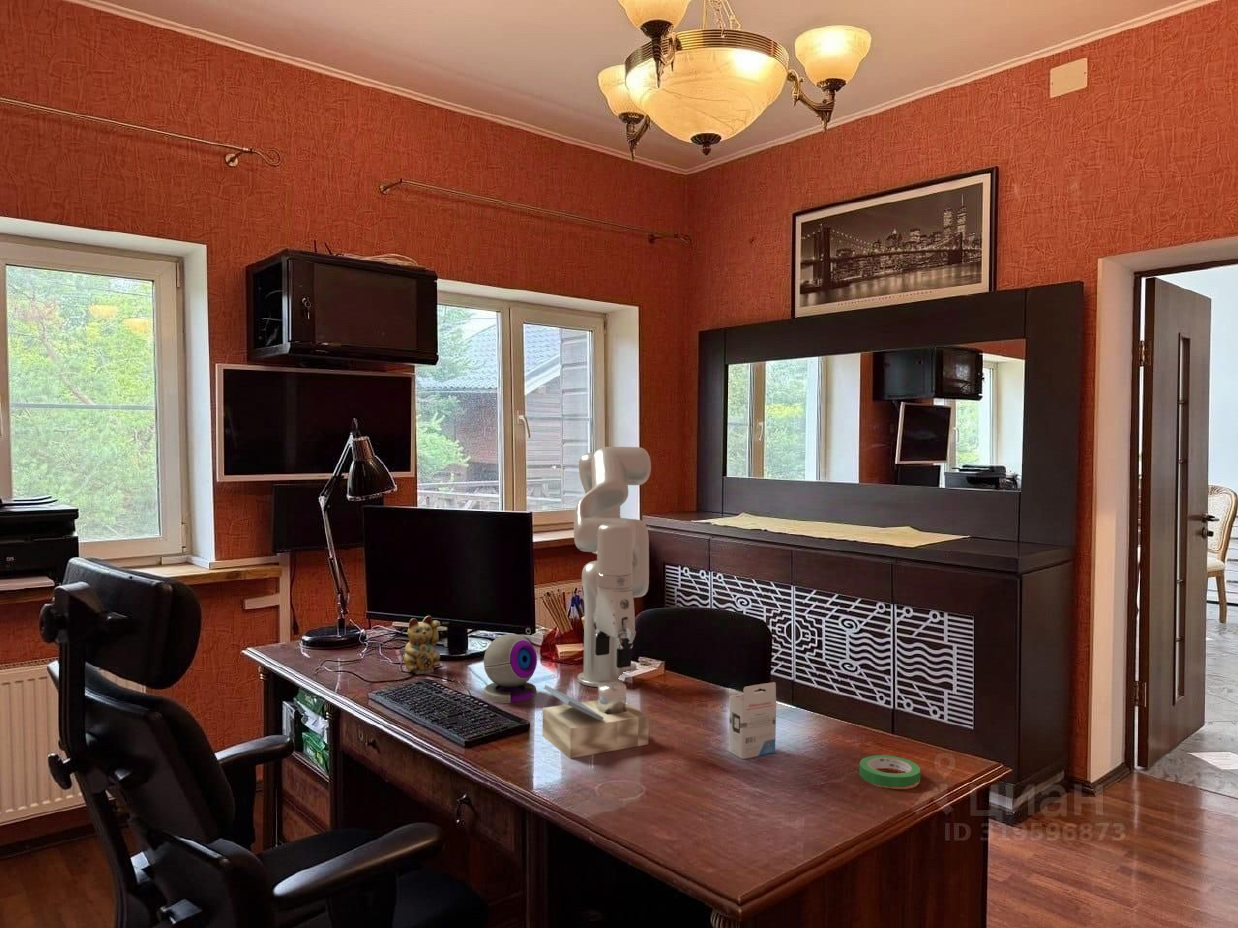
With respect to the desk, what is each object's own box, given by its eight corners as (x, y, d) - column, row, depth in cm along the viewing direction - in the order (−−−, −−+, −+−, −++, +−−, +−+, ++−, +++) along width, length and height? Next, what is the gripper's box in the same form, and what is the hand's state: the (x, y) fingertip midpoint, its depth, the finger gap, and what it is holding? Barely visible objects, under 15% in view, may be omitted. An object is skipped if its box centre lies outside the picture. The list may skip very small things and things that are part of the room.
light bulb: (617, 728, 186) (617, 680, 186) (630, 736, 181) (631, 687, 181) (592, 732, 184) (593, 683, 183) (605, 741, 178) (606, 691, 178)
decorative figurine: (410, 676, 224) (411, 620, 224) (397, 669, 230) (397, 614, 230) (444, 671, 230) (444, 615, 230) (430, 664, 237) (430, 610, 236)
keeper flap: (576, 704, 185) (578, 700, 185) (601, 721, 174) (603, 717, 174) (543, 688, 181) (545, 684, 181) (567, 704, 170) (569, 700, 170)
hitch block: (616, 723, 191) (617, 697, 191) (648, 744, 178) (648, 715, 178) (542, 735, 182) (542, 707, 182) (570, 758, 170) (570, 728, 170)
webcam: (509, 706, 202) (510, 643, 201) (472, 695, 209) (472, 634, 209) (546, 693, 212) (547, 633, 211) (509, 683, 220) (510, 626, 219)
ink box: (761, 745, 179) (763, 675, 179) (776, 753, 175) (777, 681, 174) (727, 751, 175) (729, 680, 175) (741, 759, 171) (743, 686, 170)
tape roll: (849, 778, 163) (849, 765, 163) (875, 763, 171) (875, 750, 171) (904, 796, 155) (905, 781, 155) (929, 779, 164) (930, 765, 163)
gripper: (650, 587, 175) (648, 669, 176) (611, 572, 191) (609, 648, 192) (617, 590, 172) (616, 674, 173) (580, 575, 187) (579, 652, 188)
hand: (612, 660), depth 182 cm, fingers open, 9 cm apart
